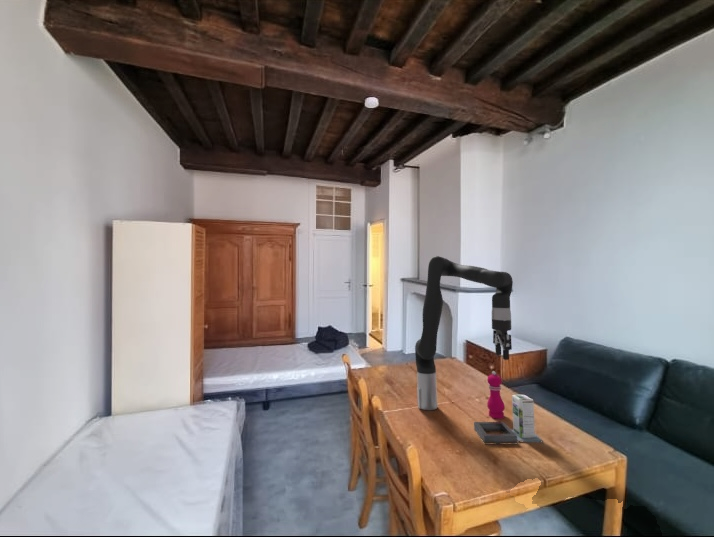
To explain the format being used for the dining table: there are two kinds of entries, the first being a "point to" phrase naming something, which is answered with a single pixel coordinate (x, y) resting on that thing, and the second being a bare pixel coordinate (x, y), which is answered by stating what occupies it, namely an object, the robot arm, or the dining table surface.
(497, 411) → the pepper mill
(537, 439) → the slate mat
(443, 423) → the dining table surface
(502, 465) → the dining table surface
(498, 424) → the iron collar
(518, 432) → the syrup box
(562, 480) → the dining table surface
